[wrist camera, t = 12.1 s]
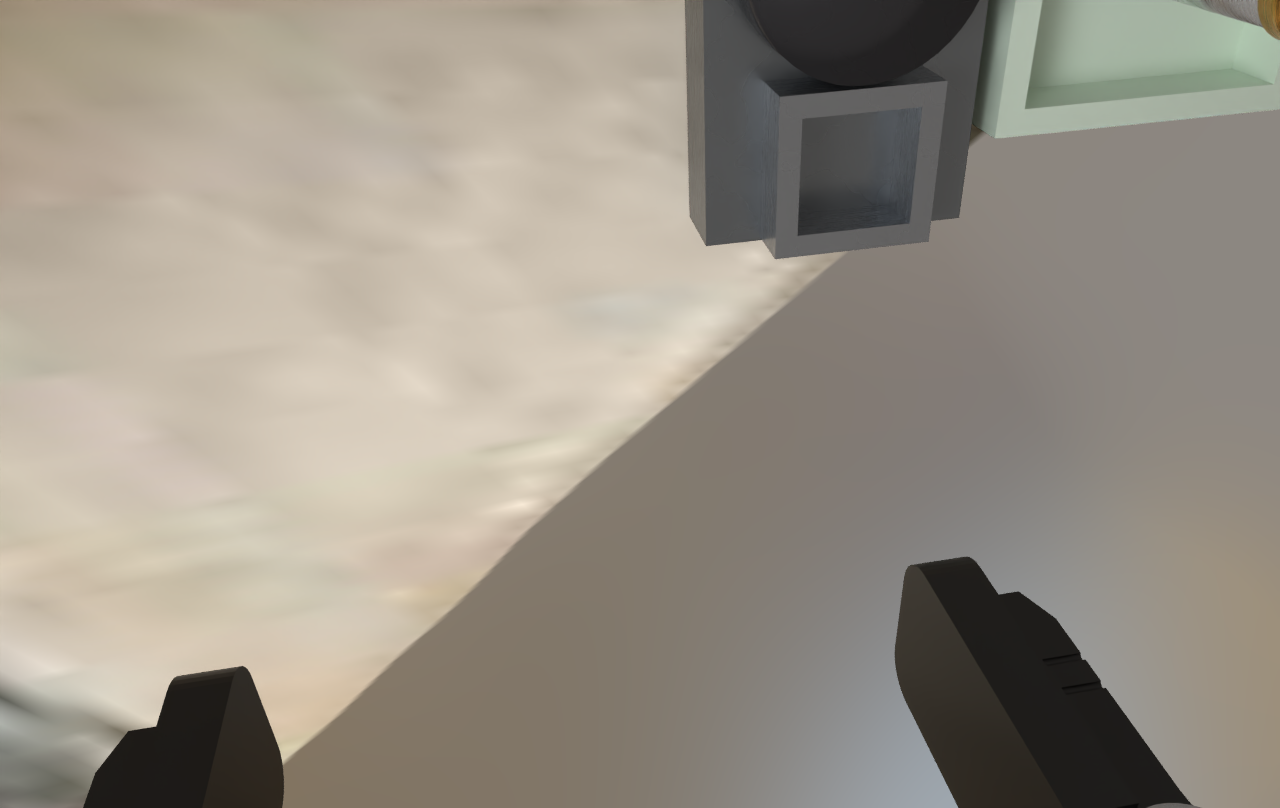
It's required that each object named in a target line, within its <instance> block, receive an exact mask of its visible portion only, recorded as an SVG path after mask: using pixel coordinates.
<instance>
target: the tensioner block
mask: <svg viewBox="0 0 1280 808" xmlns="http://www.w3.org/2000/svg"><path fill="white" fill-rule="evenodd" d="M987 8H988V0H685V18H686V64H687V111H688V158H689V205H690V218H691V220H692V221H693V223H694V225H695V227H696V229H697V231H698V232H699V234H700V236H701V238H702V240H703V241H704V243H705V245H706V246H711V245H720V244H729V243H738V242H747V241H756V240H762V241H763V242H764V243H765V245H766V246H767V248H768V249H769V251H770V252H771V254H772V255H773V257H774V258H775V259H780V258H789V257H798V256H806V255H815V254H824V253H833V252H841V251H850V250H859V249H867V248H876V247H885V246H894V245H902V244H911V243H919V242H928V241H929V233H930V225H931V221H934V220H943V219H952V218H959V213H960V206H961V198H962V191H963V184H964V177H965V169H966V162H967V155H968V148H969V140H970V133H971V125H972V118H973V111H974V103H975V96H976V89H977V81H978V74H979V67H980V59H981V52H982V45H983V37H984V30H985V23H986V15H987Z"/></svg>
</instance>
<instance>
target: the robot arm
mask: <svg viewBox="0 0 1280 808" xmlns="http://www.w3.org/2000/svg"><path fill="white" fill-rule="evenodd" d="M895 665H896V671H897V676H898V681H899V684H900V687H901V691H902V693H903V696H904V698H905V701H906V703H907V705H908V707H909V709H910V711H911V713H912V715H913V717H914V719H915V721H916V723H917V725H918V727H919V729H920V731H921V733H922V735H923V737H924V739H925V741H926V743H927V745H928V747H929V749H930V751H931V753H932V755H933V757H934V759H935V761H936V763H937V765H938V767H939V769H940V771H941V773H942V775H943V777H944V779H945V782H946V784H947V786H948V787H949V789H950V792H951V793H952V795H953V798H954V799H955V801H956V804H957V806H958V808H1200V807H1196V806H1193V805H1192V804H1191V803H1190V802H1189V801H1188V800H1187V799H1186V797H1185V796H1184V795H1183V794H1182V792H1181V791H1180V790H1179V788H1178V787H1177V786H1176V784H1175V783H1174V782H1173V780H1172V779H1171V777H1170V776H1169V775H1168V773H1167V772H1166V771H1165V769H1164V768H1163V766H1162V765H1161V764H1160V762H1159V761H1158V759H1157V758H1156V757H1155V755H1154V754H1153V753H1152V751H1151V750H1150V748H1149V747H1148V745H1147V744H1146V743H1145V741H1144V740H1143V739H1142V737H1141V736H1140V735H1139V733H1138V732H1137V730H1136V729H1135V727H1134V726H1133V725H1132V723H1131V722H1130V721H1129V719H1128V718H1127V716H1126V715H1125V714H1124V712H1123V711H1122V710H1121V708H1120V707H1119V705H1118V704H1117V703H1116V701H1115V700H1114V698H1113V697H1112V696H1111V695H1110V693H1109V692H1108V690H1107V689H1106V688H1102V686H1101V681H1100V679H1099V678H1098V676H1097V675H1096V674H1095V672H1094V671H1093V669H1092V668H1091V667H1090V665H1089V664H1088V662H1087V661H1086V660H1082V658H1081V655H1080V652H1079V650H1078V649H1077V647H1076V646H1075V644H1074V643H1073V642H1072V640H1071V639H1070V638H1069V636H1068V635H1067V633H1066V632H1065V631H1064V629H1063V628H1062V627H1061V625H1060V624H1059V622H1058V621H1057V620H1056V619H1055V618H1054V617H1053V616H1051V615H1050V614H1049V613H1047V612H1046V611H1045V610H1043V609H1042V608H1041V607H1039V606H1038V605H1036V604H1035V603H1034V602H1032V601H1031V600H1030V599H1028V598H1027V597H1025V596H1024V595H1023V594H1021V593H1020V592H1013V593H1006V594H1000V595H998V593H997V592H996V590H995V589H994V587H993V586H992V585H991V583H990V582H989V580H988V578H987V577H986V575H985V574H984V572H983V571H982V569H981V568H980V567H979V565H978V564H977V563H976V562H975V561H974V560H973V559H972V558H970V557H960V558H954V559H948V560H941V561H934V562H929V563H922V564H916V565H910V566H909V567H908V568H907V570H906V572H905V576H904V584H903V590H902V598H901V606H900V613H899V622H898V629H897V637H896V644H895ZM283 795H284V776H283V765H282V759H281V754H280V750H279V747H278V744H277V742H276V739H275V737H274V734H273V731H272V729H271V726H270V723H269V721H268V718H267V716H266V713H265V710H264V708H263V705H262V703H261V700H260V697H259V695H258V692H257V690H256V687H255V684H254V682H253V679H252V677H251V674H250V672H249V671H248V669H247V668H246V667H244V666H240V667H234V668H227V669H221V670H214V671H208V672H201V673H195V674H188V675H182V676H177V677H175V678H174V679H173V680H172V681H171V683H170V685H169V688H168V690H167V693H166V697H165V700H164V703H163V706H162V710H161V713H160V716H159V719H158V723H157V726H156V727H151V728H145V729H139V730H132V731H128V732H127V734H126V735H125V736H124V737H123V739H122V740H121V741H120V742H119V744H118V745H117V746H116V748H115V749H114V750H113V751H112V753H111V754H110V755H109V756H108V758H107V759H106V760H105V762H104V763H103V764H102V765H101V767H100V768H99V769H98V770H97V772H96V773H95V776H94V778H93V781H92V784H91V787H90V790H89V793H88V795H87V798H86V801H85V804H84V807H83V808H282V805H283Z"/></svg>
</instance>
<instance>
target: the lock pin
mask: <svg viewBox="0 0 1280 808" xmlns="http://www.w3.org/2000/svg"><path fill="white" fill-rule="evenodd" d="M1173 1H1176V2H1180V3H1183V4H1186V5H1190V6H1193V7H1196V8H1200V9H1203V10H1206V11H1210V12H1213V13H1216V14H1220V15H1223V16H1226V17H1230V18H1233V19H1236V20H1240V21H1243V22H1246V23H1250V24H1253V25H1256V26H1260V27H1263V28H1264V29H1265V31H1266V32H1267V33H1268V34H1269V35H1270V36H1272V37H1274V38H1275V39H1277V40H1280V0H1173Z"/></svg>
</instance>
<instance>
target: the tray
mask: <svg viewBox="0 0 1280 808" xmlns="http://www.w3.org/2000/svg"><path fill="white" fill-rule="evenodd" d="M1278 109H1280V40H1277V39H1275V38H1274V37H1272V36H1270V35H1269V34H1268V33H1267V32H1266V31H1265V29H1264V28H1263V27H1260V26H1256V25H1253V24H1250V23H1246V22H1243V21H1240V20H1236V19H1233V18H1230V17H1226V16H1223V15H1220V14H1216V13H1213V12H1210V11H1206V10H1203V9H1200V8H1196V7H1193V6H1190V5H1186V4H1183V3H1180V2H1176V1H1173V0H988V8H987V15H986V23H985V30H984V37H983V45H982V52H981V59H980V67H979V74H978V81H977V89H976V96H975V103H974V111H973V118H972V124H973V125H975V126H976V127H978V128H979V129H981V130H982V131H984V132H985V133H987V134H988V135H990V136H991V137H993V138H995V139H997V138H1007V137H1017V136H1026V135H1036V134H1046V133H1055V132H1064V131H1075V130H1085V129H1095V128H1103V127H1113V126H1124V125H1133V124H1143V123H1152V122H1162V121H1172V120H1182V119H1191V118H1201V117H1211V116H1220V115H1230V114H1240V113H1249V112H1259V111H1269V110H1278Z"/></svg>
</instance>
